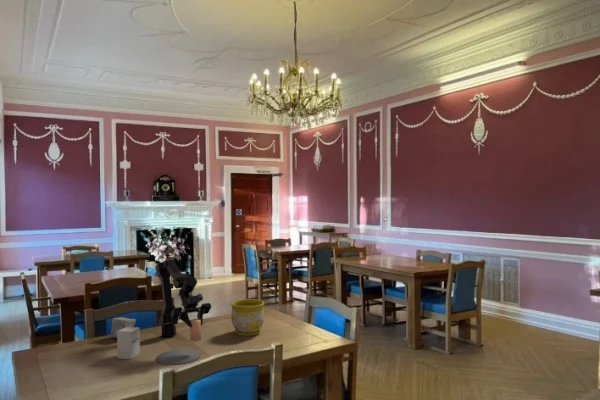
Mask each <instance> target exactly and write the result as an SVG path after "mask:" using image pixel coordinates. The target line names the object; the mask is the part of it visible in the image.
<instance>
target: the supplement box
mask: <svg viewBox="0 0 600 400" xmlns="http://www.w3.org/2000/svg"><path fill="white" fill-rule="evenodd" d="M140 328H141V327H137V326H136V327H135V326H134V327H125V328H123V329H121V330H119V331H117V338H116V342H117V347H116V349H117V350H116V351H117V356H116V359H125V360H131V359H133V358H135V357H137V356H138V355H140V348H141V347H140V338H141V337H140V331H141V330H140Z"/></svg>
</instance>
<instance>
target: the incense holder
mask: <svg viewBox="0 0 600 400" xmlns="http://www.w3.org/2000/svg"><path fill="white" fill-rule="evenodd" d="M111 320H112V322H111V330H110V337H111V338H116V339H117V331H119V330H121V329H123V328H125V327H135V324H136V321H137V320H136V319H135V318H126V317H124V316H122V317H121V316H120V317H114V318H112V319H111Z"/></svg>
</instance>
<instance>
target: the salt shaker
mask: <svg viewBox="0 0 600 400" xmlns="http://www.w3.org/2000/svg"><path fill="white" fill-rule="evenodd" d="M190 322H191V325H192V327H191V328H190V327H189V340H190V342H197V341H198V342H199V341H200V340H201V339H202V331H201V330H202V328H201V327H202V326H201V320H200V319H198V318H192V319H190Z"/></svg>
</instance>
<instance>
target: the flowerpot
mask: <svg viewBox="0 0 600 400" xmlns="http://www.w3.org/2000/svg"><path fill="white" fill-rule="evenodd" d="M230 305H231V324H232V326H233V328H234V332H235V333H236V334H237V336H243V337H250V336H251V337H252V336H256V335H258V334H260V332H261V331H262V329H261V328H262V327H263V324H264V322H265V310H264V309H265V306H264V305H265V301H264V300H261V299H257V298H255V299H254V298H253V299H252V298H246V299H238V300H237V299H236V300H234V301H232V302H231V303H230Z"/></svg>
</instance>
